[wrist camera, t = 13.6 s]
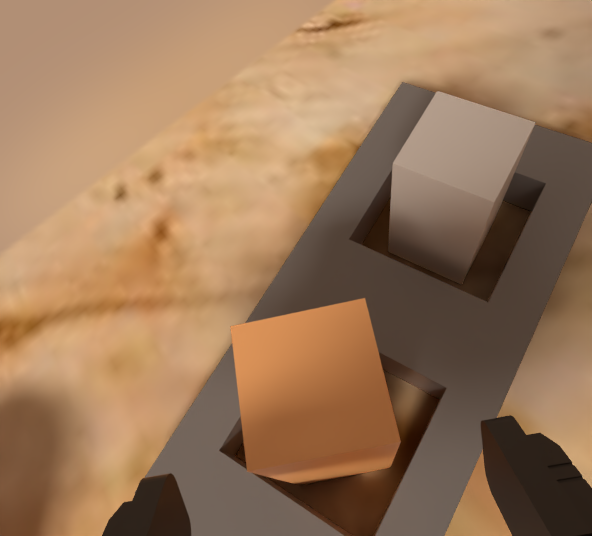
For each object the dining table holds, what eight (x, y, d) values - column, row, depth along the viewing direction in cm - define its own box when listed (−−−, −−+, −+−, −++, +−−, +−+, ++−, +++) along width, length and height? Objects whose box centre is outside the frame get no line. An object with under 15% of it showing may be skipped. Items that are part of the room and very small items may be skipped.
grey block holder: (400, 114, 30) (407, -1, 23) (593, 180, 26) (670, 67, 19) (158, 493, 22) (66, 489, 16) (379, 659, 19) (382, 747, 12)
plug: (390, 467, 22) (400, 441, 13) (299, 485, 22) (246, 471, 13) (368, 377, 23) (365, 297, 14) (285, 394, 24) (230, 326, 15)
